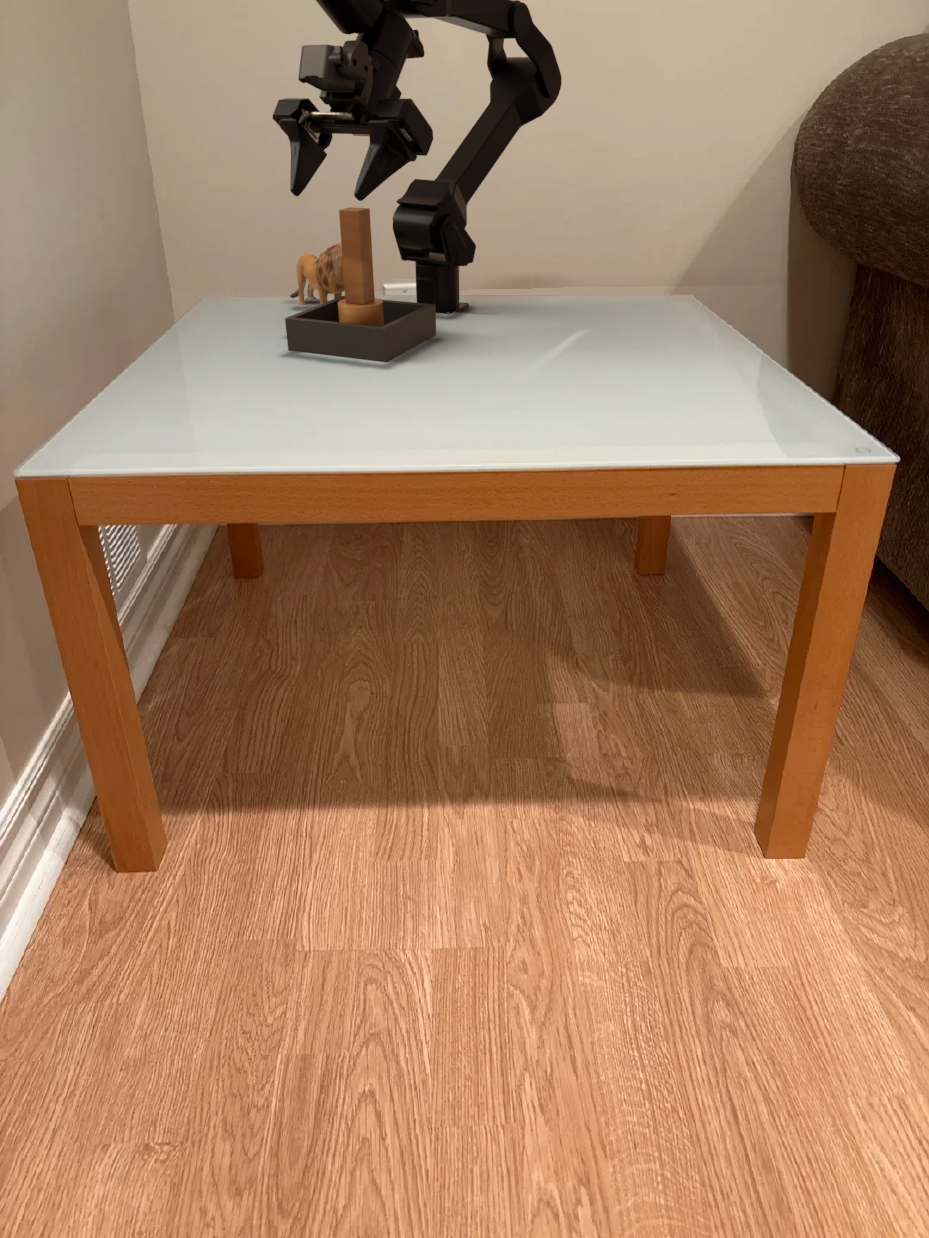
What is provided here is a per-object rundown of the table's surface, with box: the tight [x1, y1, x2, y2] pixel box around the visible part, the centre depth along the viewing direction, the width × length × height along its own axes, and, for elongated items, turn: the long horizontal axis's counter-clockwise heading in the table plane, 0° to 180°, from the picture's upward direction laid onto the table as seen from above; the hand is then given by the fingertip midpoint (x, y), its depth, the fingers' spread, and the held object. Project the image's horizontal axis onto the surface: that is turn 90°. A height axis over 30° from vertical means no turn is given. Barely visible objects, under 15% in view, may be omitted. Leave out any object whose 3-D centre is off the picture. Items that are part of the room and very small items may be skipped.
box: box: [284, 295, 437, 363], centre depth 106 cm, size 13×13×4 cm
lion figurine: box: [289, 242, 345, 306], centre depth 121 cm, size 15×5×9 cm, turn 44°
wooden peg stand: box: [338, 206, 384, 327], centre depth 101 cm, size 5×5×14 cm
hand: (325, 196), depth 100 cm, fingers open, 9 cm apart
